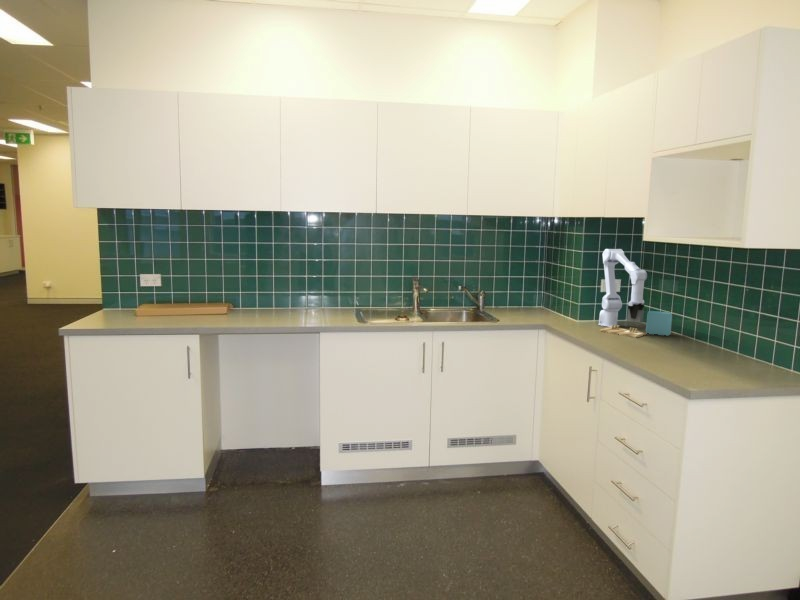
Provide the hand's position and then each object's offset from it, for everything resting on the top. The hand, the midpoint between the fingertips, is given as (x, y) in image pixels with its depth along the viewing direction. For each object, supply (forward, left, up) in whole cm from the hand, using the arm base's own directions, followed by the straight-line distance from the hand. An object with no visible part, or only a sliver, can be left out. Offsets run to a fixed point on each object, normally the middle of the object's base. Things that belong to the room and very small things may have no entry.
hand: (635, 318), depth 291 cm
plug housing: (0, 0, -2) cm, 2 cm away
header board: (-4, -3, -9) cm, 10 cm away
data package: (+9, +10, -9) cm, 16 cm away
